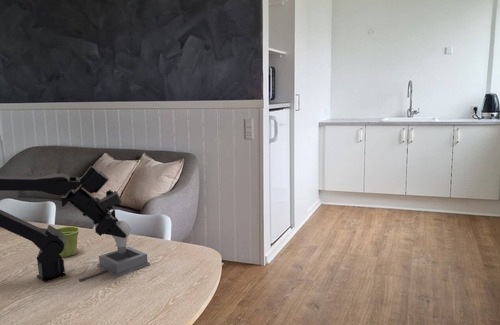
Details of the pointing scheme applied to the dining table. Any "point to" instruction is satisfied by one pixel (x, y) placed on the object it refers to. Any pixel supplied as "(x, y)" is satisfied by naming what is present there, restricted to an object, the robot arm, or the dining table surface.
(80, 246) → the dining table surface
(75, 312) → the dining table surface
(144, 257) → the grey square pan
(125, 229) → the lightbulb
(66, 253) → the plant pot
